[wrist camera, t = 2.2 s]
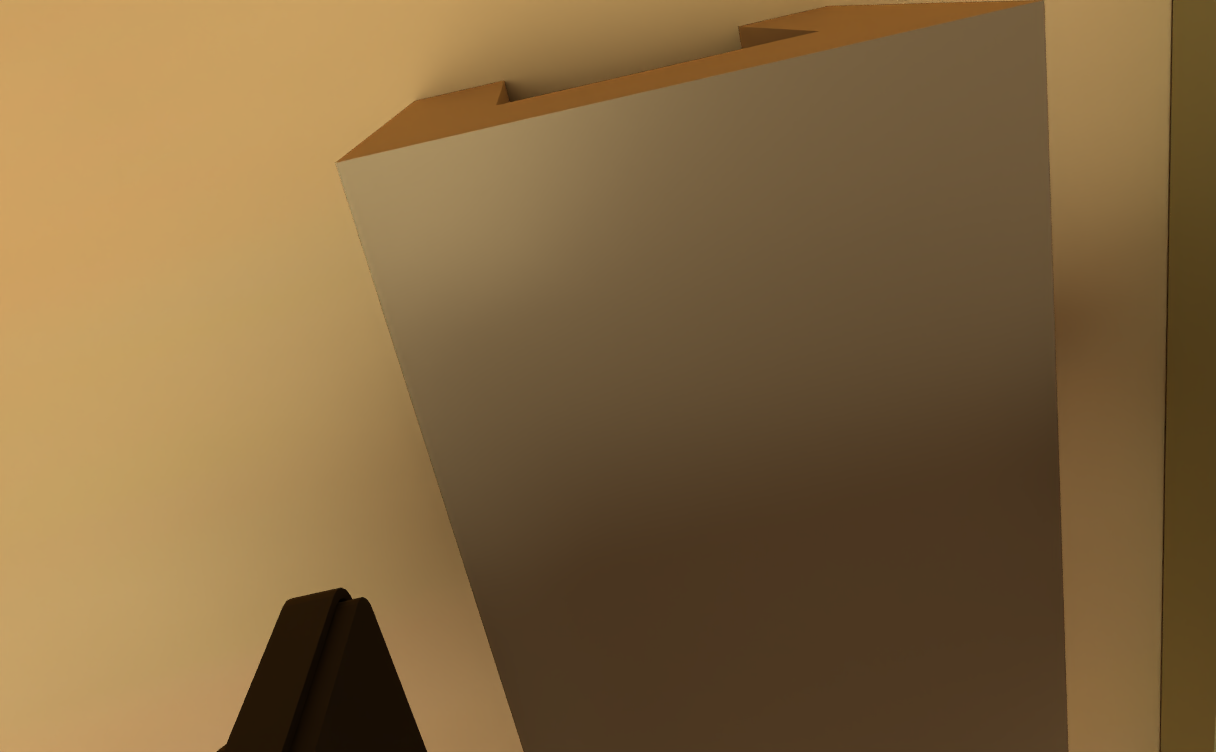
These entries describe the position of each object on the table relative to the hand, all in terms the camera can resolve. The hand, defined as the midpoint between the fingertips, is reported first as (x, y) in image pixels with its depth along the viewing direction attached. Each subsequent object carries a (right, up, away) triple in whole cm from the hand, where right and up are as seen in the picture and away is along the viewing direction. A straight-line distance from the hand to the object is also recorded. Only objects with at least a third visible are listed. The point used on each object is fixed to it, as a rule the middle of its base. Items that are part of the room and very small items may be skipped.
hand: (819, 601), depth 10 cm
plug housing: (-1, +2, +6) cm, 6 cm away
